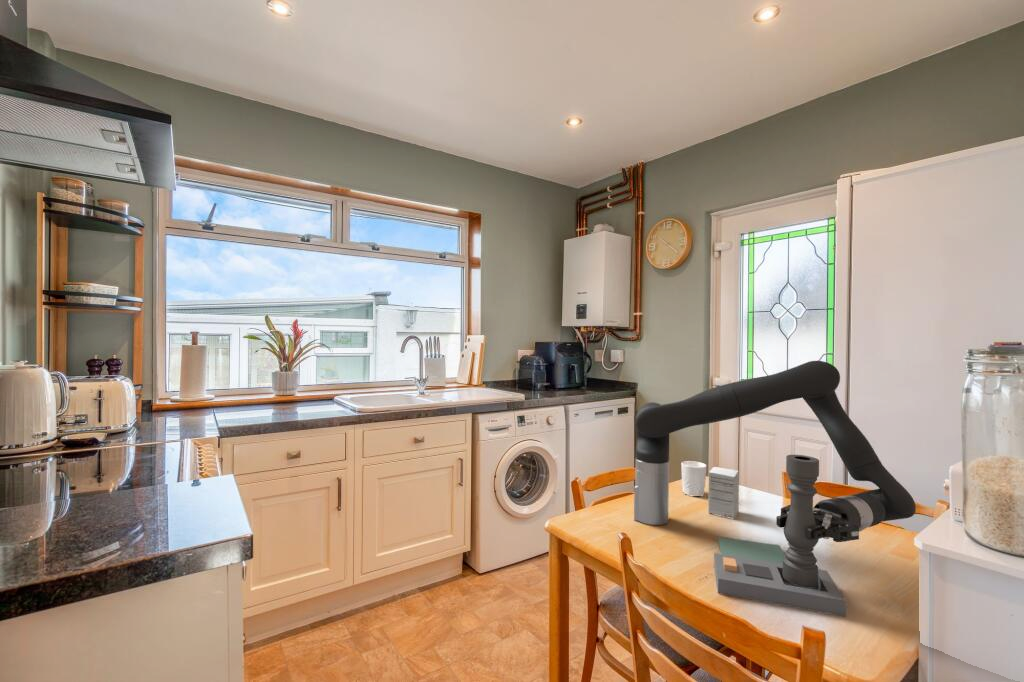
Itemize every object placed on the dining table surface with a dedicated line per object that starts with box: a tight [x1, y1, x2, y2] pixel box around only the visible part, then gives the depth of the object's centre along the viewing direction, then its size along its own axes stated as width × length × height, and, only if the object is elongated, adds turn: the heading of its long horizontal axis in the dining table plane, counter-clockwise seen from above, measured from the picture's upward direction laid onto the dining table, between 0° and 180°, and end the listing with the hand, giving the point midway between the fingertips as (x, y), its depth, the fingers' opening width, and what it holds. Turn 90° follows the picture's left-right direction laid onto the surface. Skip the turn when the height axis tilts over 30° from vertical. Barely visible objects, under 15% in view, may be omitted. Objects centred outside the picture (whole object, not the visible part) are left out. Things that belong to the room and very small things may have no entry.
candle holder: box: [782, 454, 820, 589], centre depth 94 cm, size 6×6×25 cm
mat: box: [717, 536, 785, 564], centre depth 110 cm, size 14×12×1 cm
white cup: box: [680, 460, 707, 497], centre depth 154 cm, size 8×8×10 cm
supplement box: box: [707, 466, 740, 519], centre depth 137 cm, size 7×7×13 cm
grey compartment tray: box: [713, 552, 847, 618], centre depth 95 cm, size 22×12×4 cm, turn 70°
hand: (793, 528), depth 93 cm, fingers closed on candle holder, 5 cm apart
